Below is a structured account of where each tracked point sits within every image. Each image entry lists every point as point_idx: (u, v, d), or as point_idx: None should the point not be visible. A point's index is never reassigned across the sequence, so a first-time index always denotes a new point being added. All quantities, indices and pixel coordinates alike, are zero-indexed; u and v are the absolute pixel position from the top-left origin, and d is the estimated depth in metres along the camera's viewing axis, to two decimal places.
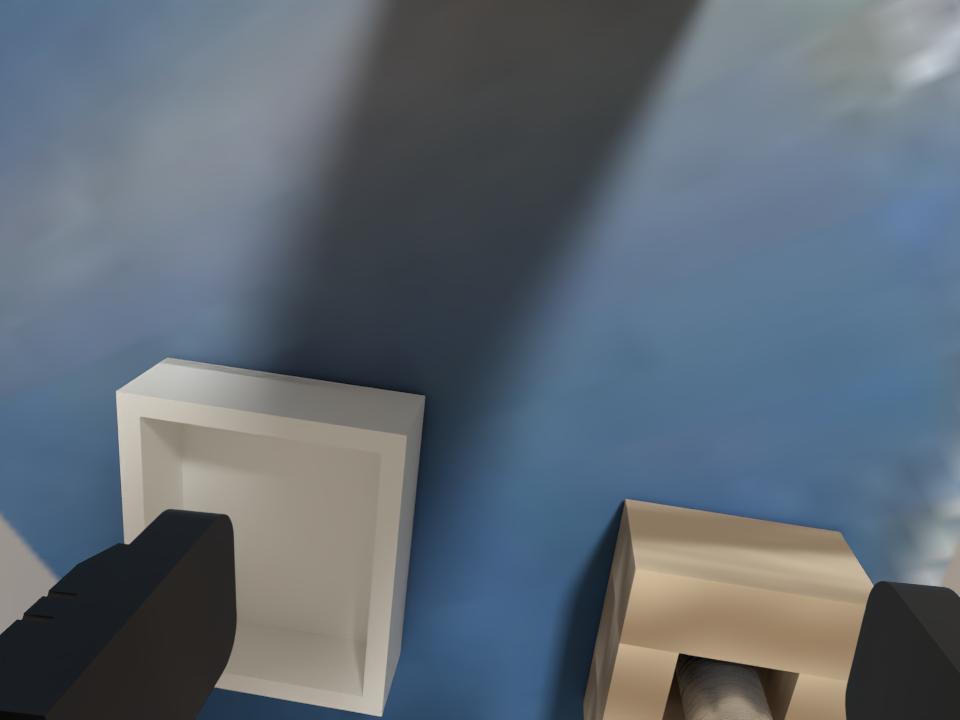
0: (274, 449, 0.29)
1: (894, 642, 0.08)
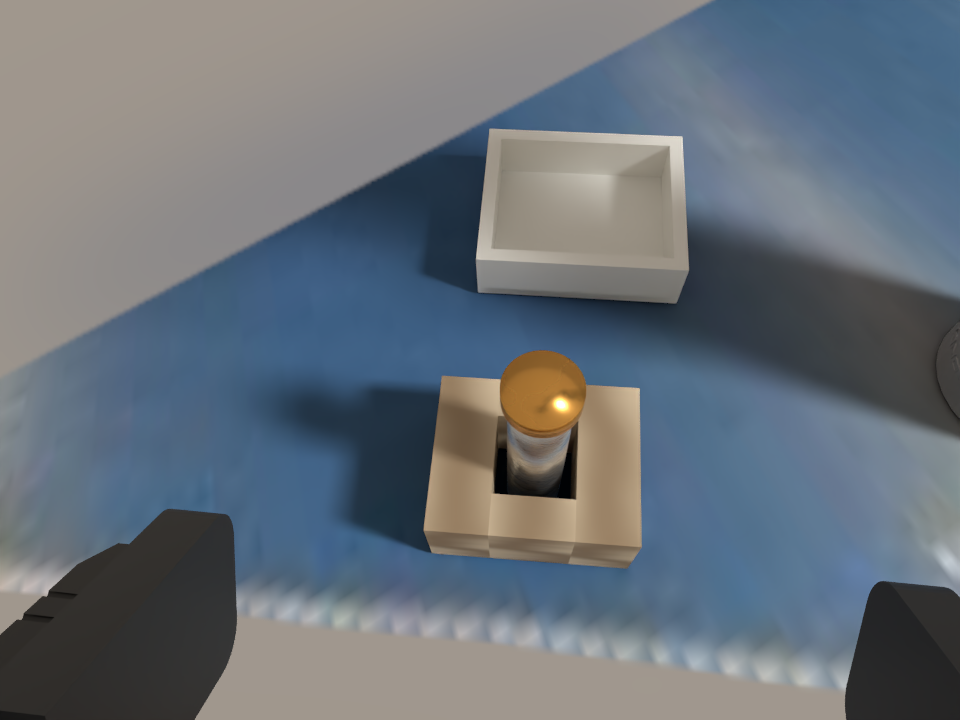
0: (629, 221, 0.48)
1: (894, 642, 0.08)
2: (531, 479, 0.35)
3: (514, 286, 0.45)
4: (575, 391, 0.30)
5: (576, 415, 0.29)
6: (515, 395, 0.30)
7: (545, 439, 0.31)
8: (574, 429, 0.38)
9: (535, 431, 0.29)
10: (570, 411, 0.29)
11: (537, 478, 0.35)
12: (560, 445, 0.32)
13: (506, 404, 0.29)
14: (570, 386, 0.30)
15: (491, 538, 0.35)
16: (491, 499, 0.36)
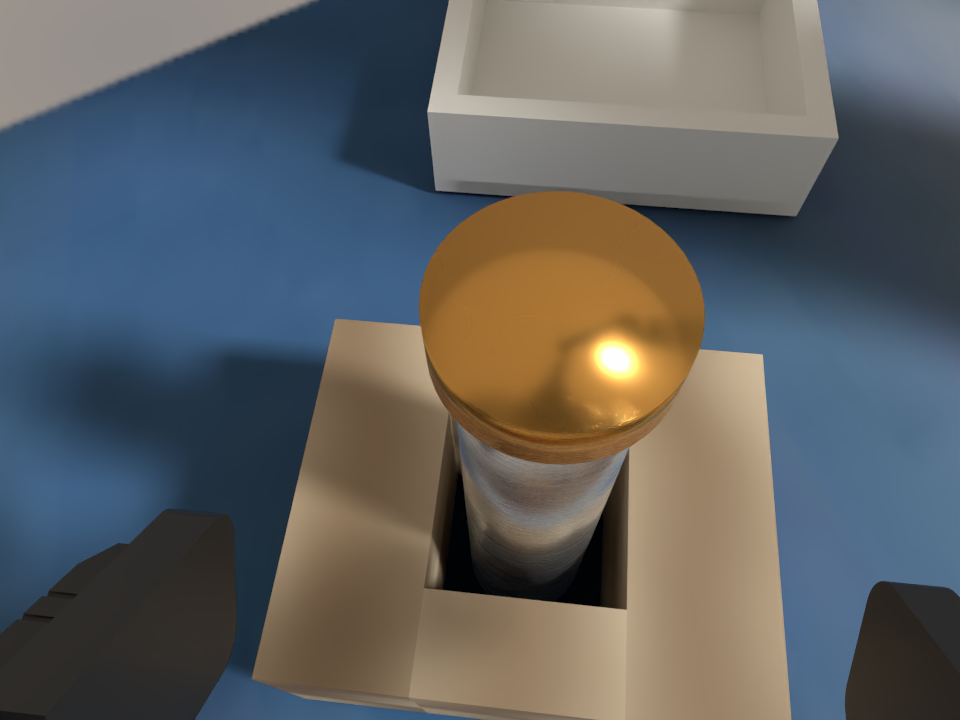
0: (706, 79, 0.27)
1: (894, 642, 0.08)
2: (519, 558, 0.15)
3: (501, 177, 0.25)
4: (668, 312, 0.09)
5: (674, 390, 0.09)
6: (469, 320, 0.09)
7: (563, 467, 0.10)
8: None
9: (532, 441, 0.09)
10: (654, 376, 0.09)
11: (533, 556, 0.14)
12: (602, 483, 0.11)
13: (437, 348, 0.09)
14: (651, 296, 0.09)
15: (418, 700, 0.15)
16: (422, 602, 0.15)
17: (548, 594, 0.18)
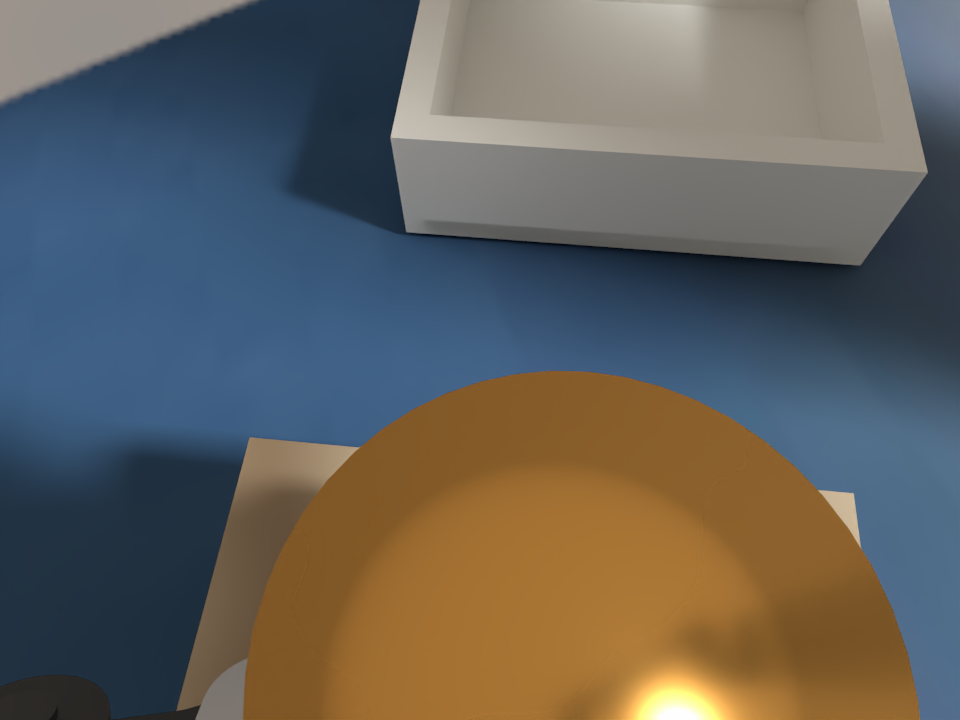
0: (742, 90, 0.22)
1: None
2: None
3: (487, 217, 0.20)
4: (831, 700, 0.04)
5: None
6: None
7: None
8: None
9: None
10: None
11: None
12: None
13: None
14: (786, 653, 0.04)
15: None
16: None
17: None
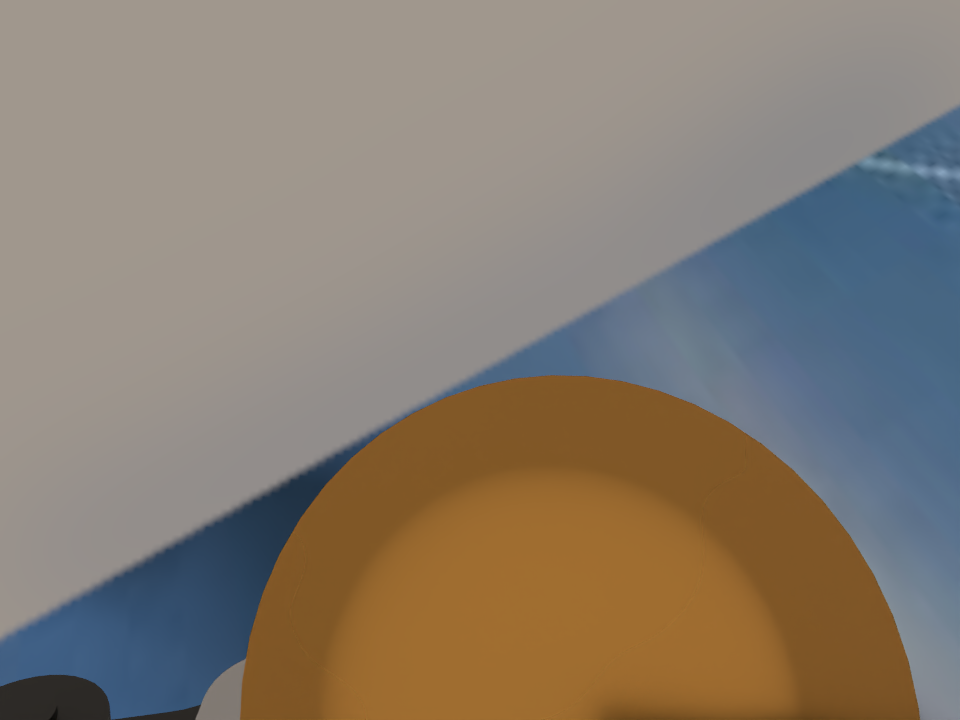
0: None
1: None
2: None
3: None
4: (832, 707, 0.04)
5: None
6: None
7: None
8: None
9: None
10: None
11: None
12: None
13: None
14: (787, 659, 0.04)
15: None
16: None
17: None
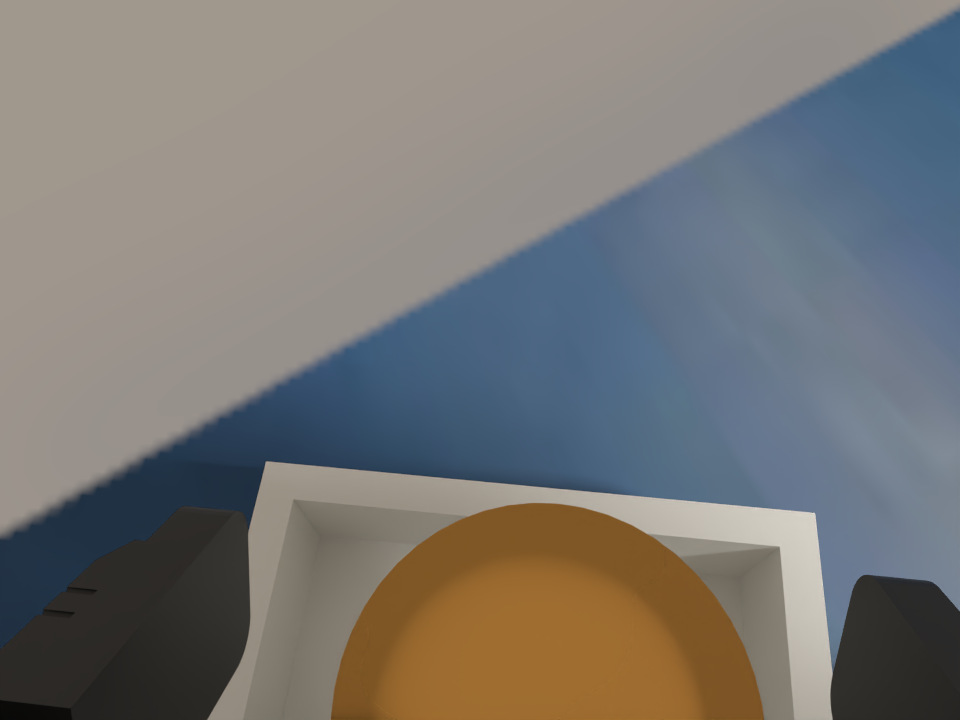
0: None
1: (876, 635, 0.08)
2: None
3: None
4: None
5: None
6: None
7: None
8: None
9: None
10: None
11: None
12: None
13: None
14: (683, 704, 0.06)
15: None
16: None
17: None
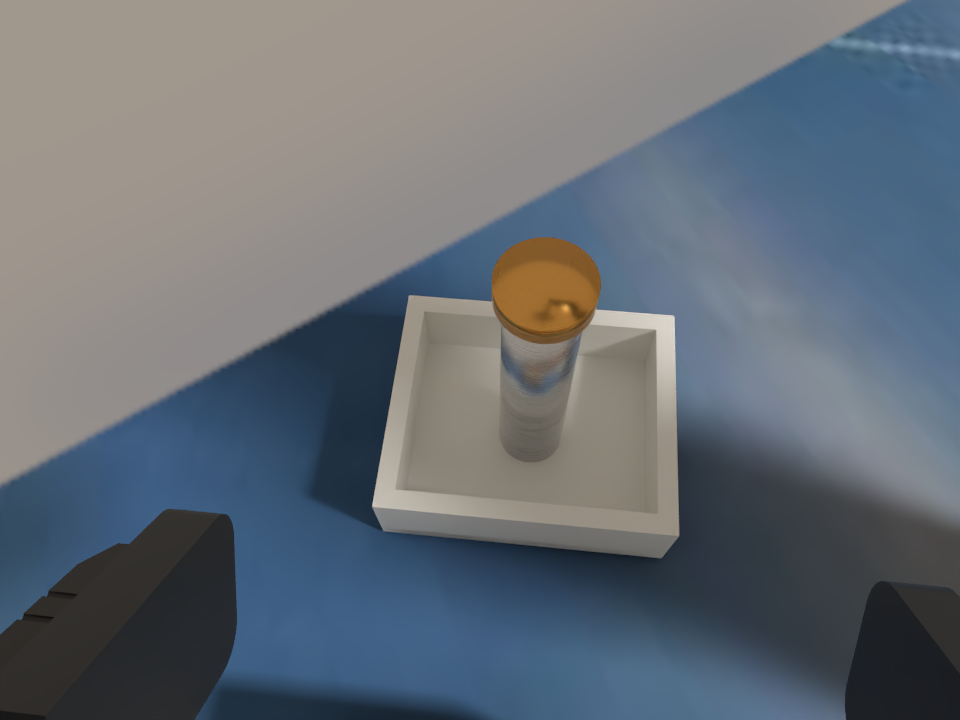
0: (599, 427, 0.34)
1: (894, 642, 0.08)
2: (528, 413, 0.29)
3: (432, 530, 0.32)
4: (587, 285, 0.23)
5: (588, 313, 0.23)
6: (511, 288, 0.23)
7: (548, 349, 0.25)
8: None
9: (535, 332, 0.23)
10: (580, 308, 0.23)
11: (535, 412, 0.29)
12: (565, 363, 0.26)
13: (500, 298, 0.23)
14: (580, 279, 0.24)
15: None
16: None
17: (543, 447, 0.32)
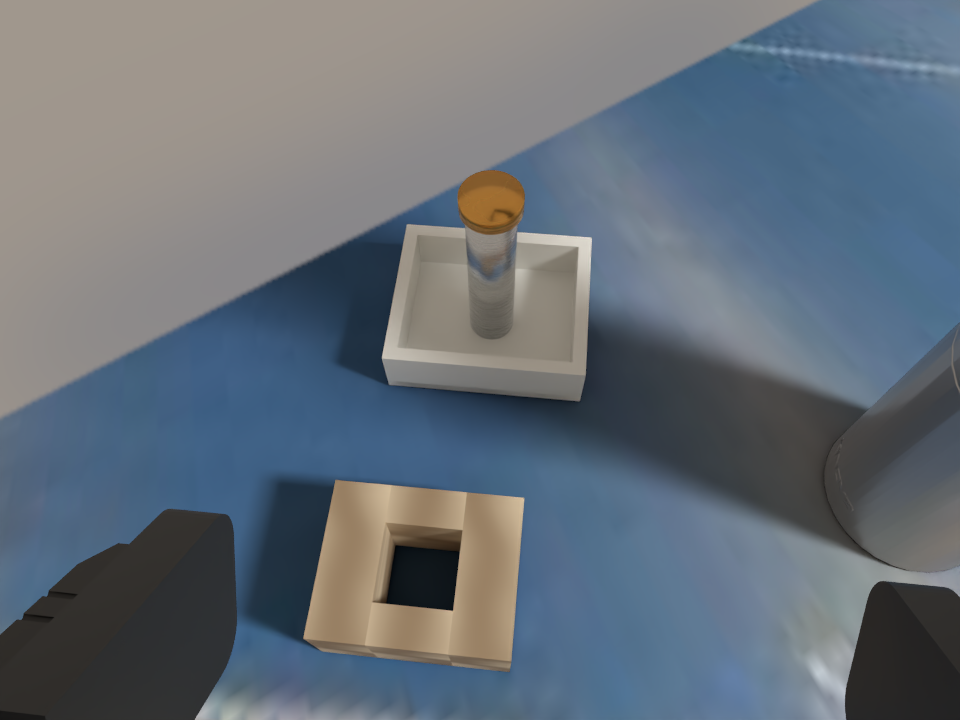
0: (539, 317, 0.49)
1: (894, 642, 0.08)
2: (486, 294, 0.44)
3: (422, 381, 0.47)
4: (516, 198, 0.38)
5: (516, 214, 0.38)
6: (469, 200, 0.38)
7: (494, 241, 0.39)
8: (461, 535, 0.40)
9: (484, 226, 0.38)
10: (511, 211, 0.38)
11: (490, 292, 0.44)
12: (506, 253, 0.41)
13: (462, 206, 0.38)
14: (512, 194, 0.38)
15: (369, 647, 0.36)
16: (371, 608, 0.37)
17: (499, 326, 0.47)
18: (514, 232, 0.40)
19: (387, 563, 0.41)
